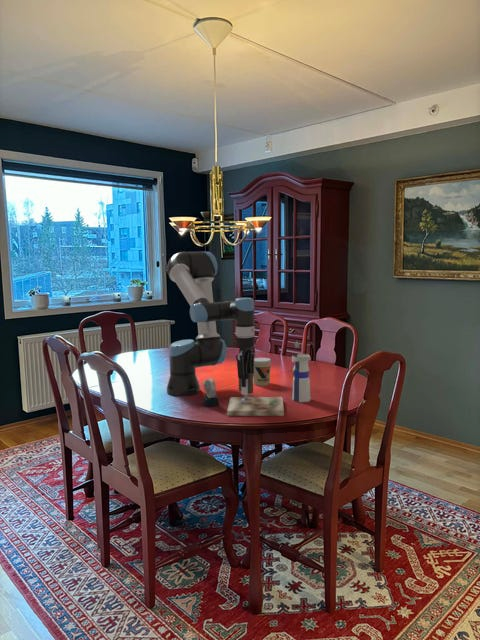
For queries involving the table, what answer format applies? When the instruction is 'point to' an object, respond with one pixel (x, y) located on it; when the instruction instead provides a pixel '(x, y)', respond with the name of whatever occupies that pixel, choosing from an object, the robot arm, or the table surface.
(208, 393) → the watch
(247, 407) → the dial board
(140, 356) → the table surface
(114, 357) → the table surface
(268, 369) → the coffee cup
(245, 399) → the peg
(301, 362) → the water bottle
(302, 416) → the table surface
